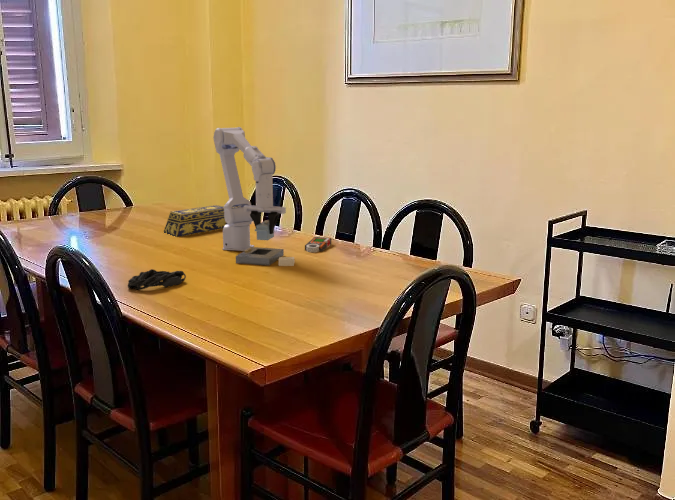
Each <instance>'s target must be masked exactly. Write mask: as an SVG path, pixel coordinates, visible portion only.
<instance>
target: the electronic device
mask: <svg viewBox="0 0 675 500" xmlns="http://www.w3.org/2000/svg"><path fill="white" fill-rule="evenodd" d="M331 245H332V237H325V236H324V237H322V236H314V237H313V238H312V239H310V240H309V241H308V242H307V243H306V244H304V251H306V252H308V253H318V252H324V251H326V249H328V248H329V247H330V246H331Z"/></svg>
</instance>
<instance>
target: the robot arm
mask: <svg viewBox="0 0 675 500" xmlns="http://www.w3.org/2000/svg"><path fill="white" fill-rule="evenodd" d="M245 133H246V132H245V130H243V128H242V127H241V126H238V127H222V128H221V127H216V128H215V130H214V131H213V138H212V139H213V143H214V149H215V151H216V153H217V154H218V155H219V159H220V163H221V166H222V167H221V168H222V172H223V176H224V180H225V185H226V190H227V195H228V200H227V202H226V203H225V204H224V205H223V206H224V218H225V221H226V223H227V224H226V225H225V226H224V228H223V229H222V245H223V247H222V250H223V251H237V252H238V251H239V252H240V251H241V252H244V251H245V250H247V249H248V248H251V247H255V245H254V244H251V231H250V230H251V229H250V227H251V226H250V225H252V222H253V224H254V226H255V227H254V228H256V225H258V224H260V223H262V213H267V219H268V221H269V232H270V234H273V233H274V234H275V227H276V224H277V221H278V219H279V216H280V214H282V215H285V214H286V212H287V211H286V209H287V208H286V207H285V206H275V205H274V198H273V197H274V193H273V191H274V190H273V189H274V187H273V175H274V174H275V173H276V169H277V168H276V167H277V166H276V162H275V160H274V158H273V157H269V156H268V157H267V156H266V155H265V154H264V153H263V152H262V151H261V150H260V149H259V148H258V146H257V145H251V143H250V142H249V140H248V139H246V134H245ZM239 151H240V152H242V153H243V158H244V160H245V161H246V162H247V163H248V165H250V166H251V172H252V174H253V180H254V181H255V205H254V204H253V205H252V203H251V201H250V200H249V199H247V198H246V197H244V193H243V189H242V186H241V185H242V184H241V180H240V177H239V172H238V168H237V162H236V158H235V156H236V155H235V154H236V153H238V152H239Z"/></svg>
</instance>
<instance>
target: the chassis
mask: <svg viewBox="0 0 675 500" xmlns="http://www.w3.org/2000/svg"><path fill="white" fill-rule="evenodd" d="M284 250H285V249H284V248H275V247H274V248H272V247H261V246H260V247H259V246H257V247H256V246H254V247H251V248H248V249H247V250H245V251H241V252H240V253H238V254H236V255H235V264H241V265H242V264H244V265H255V266H256V265H259V266H271V265H273V264H274V263H275V262H276V261H279V257H285V253H284Z"/></svg>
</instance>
